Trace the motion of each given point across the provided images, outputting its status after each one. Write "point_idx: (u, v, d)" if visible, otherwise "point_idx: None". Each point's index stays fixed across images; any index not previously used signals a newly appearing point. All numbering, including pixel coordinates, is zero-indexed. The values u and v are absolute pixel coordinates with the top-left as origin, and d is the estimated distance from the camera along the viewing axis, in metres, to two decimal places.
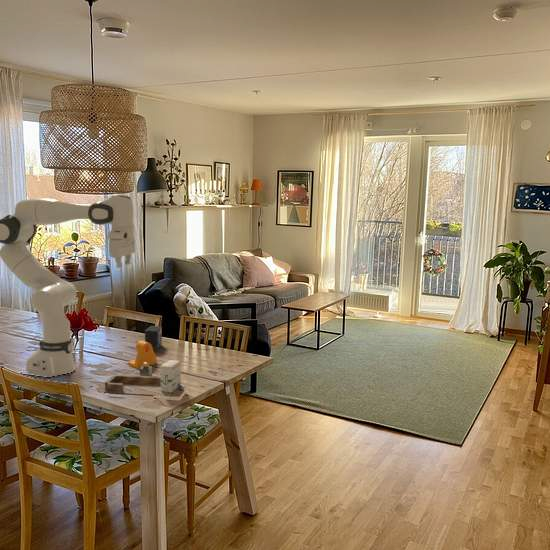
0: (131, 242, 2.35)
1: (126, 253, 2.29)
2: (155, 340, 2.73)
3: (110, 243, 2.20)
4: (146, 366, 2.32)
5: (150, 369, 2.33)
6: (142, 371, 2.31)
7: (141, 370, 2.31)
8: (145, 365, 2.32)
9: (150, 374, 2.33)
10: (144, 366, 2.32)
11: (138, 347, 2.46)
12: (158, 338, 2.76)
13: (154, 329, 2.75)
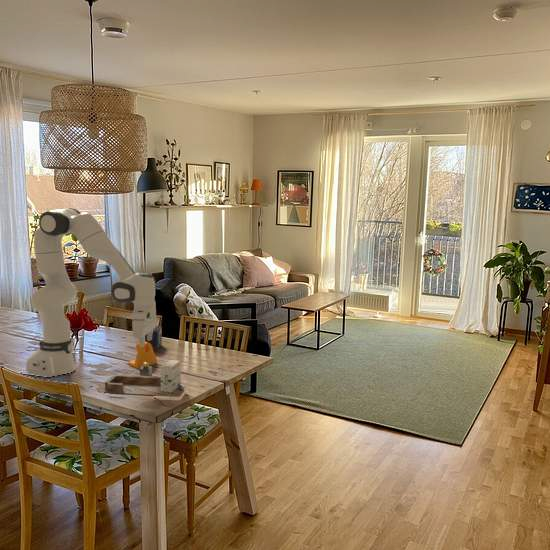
0: (153, 318, 2.35)
1: (149, 331, 2.29)
2: (155, 340, 2.73)
3: (133, 324, 2.21)
4: (146, 366, 2.32)
5: (150, 369, 2.33)
6: (142, 371, 2.31)
7: (141, 370, 2.31)
8: (145, 365, 2.32)
9: (150, 374, 2.33)
10: (144, 366, 2.32)
11: (138, 347, 2.46)
12: (158, 338, 2.76)
13: (154, 329, 2.75)
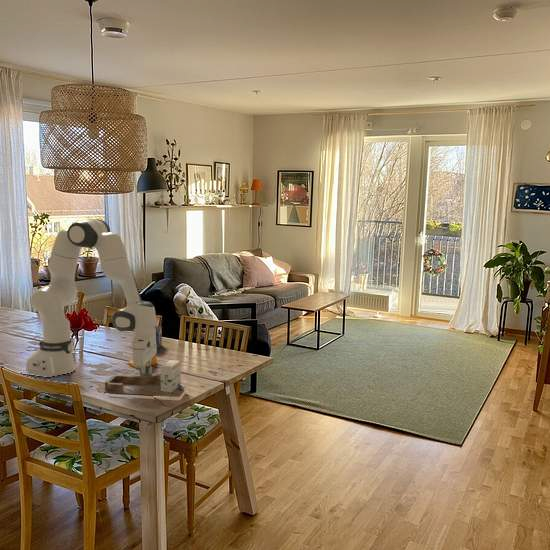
0: (153, 345, 2.37)
1: (149, 359, 2.31)
2: None
3: (133, 353, 2.22)
4: (146, 366, 2.32)
5: (150, 369, 2.33)
6: None
7: None
8: None
9: (150, 374, 2.33)
10: None
11: None
12: (158, 338, 2.76)
13: None
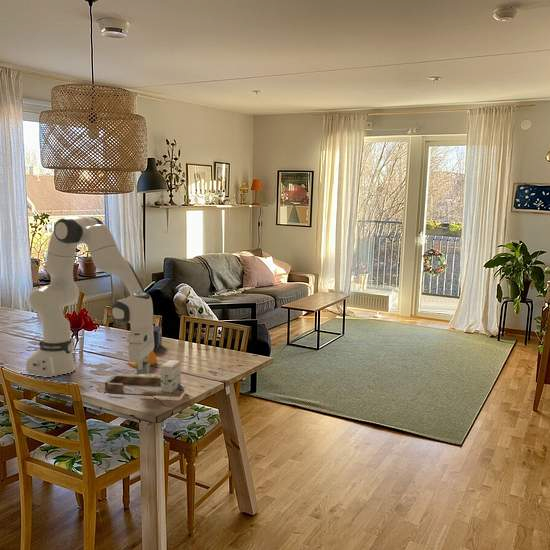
0: (150, 340, 2.23)
1: (146, 354, 2.17)
2: (155, 340, 2.73)
3: (129, 348, 2.08)
4: (143, 362, 2.18)
5: (148, 365, 2.19)
6: None
7: None
8: None
9: (148, 370, 2.19)
10: None
11: None
12: (158, 338, 2.76)
13: (154, 329, 2.75)
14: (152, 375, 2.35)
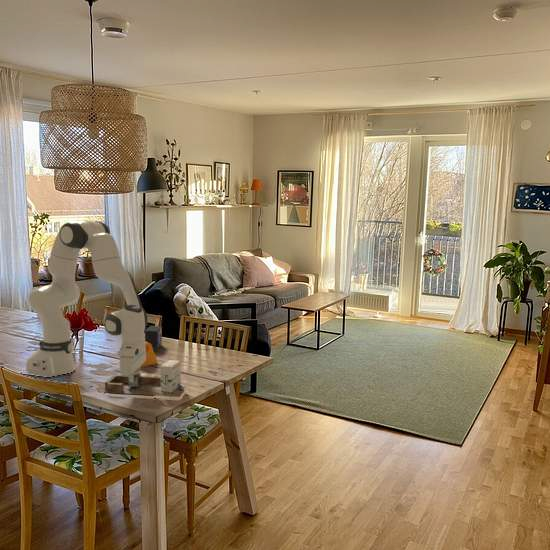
0: (142, 352, 2.25)
1: (137, 367, 2.18)
2: (155, 340, 2.73)
3: (121, 361, 2.10)
4: (135, 374, 2.19)
5: (139, 377, 2.20)
6: None
7: None
8: (134, 373, 2.19)
9: (139, 383, 2.21)
10: None
11: None
12: (158, 338, 2.76)
13: (154, 329, 2.75)
14: (152, 375, 2.35)
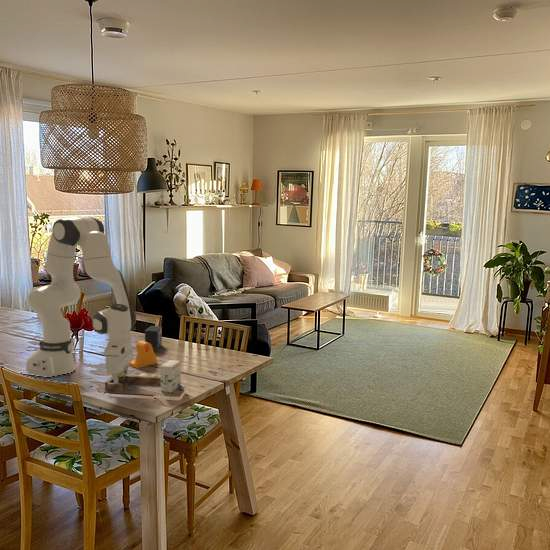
0: (129, 351, 2.25)
1: (124, 366, 2.19)
2: (155, 340, 2.73)
3: (106, 360, 2.10)
4: (121, 376, 2.20)
5: (125, 379, 2.21)
6: None
7: None
8: (120, 375, 2.19)
9: (126, 384, 2.21)
10: (119, 376, 2.20)
11: (138, 347, 2.46)
12: (158, 338, 2.76)
13: (154, 329, 2.75)
14: (152, 375, 2.35)
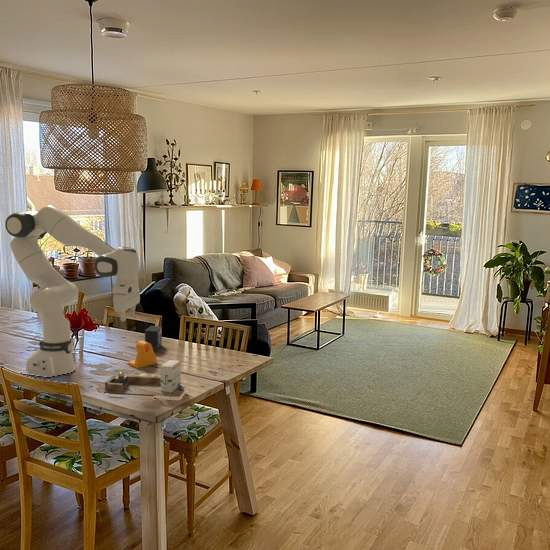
0: (136, 293, 2.35)
1: (130, 306, 2.29)
2: (155, 340, 2.73)
3: (114, 298, 2.20)
4: (121, 376, 2.20)
5: (125, 379, 2.21)
6: (117, 381, 2.19)
7: (116, 380, 2.19)
8: (120, 375, 2.19)
9: (126, 384, 2.21)
10: (119, 376, 2.20)
11: (138, 347, 2.46)
12: (158, 338, 2.76)
13: (154, 329, 2.75)
14: (152, 375, 2.35)
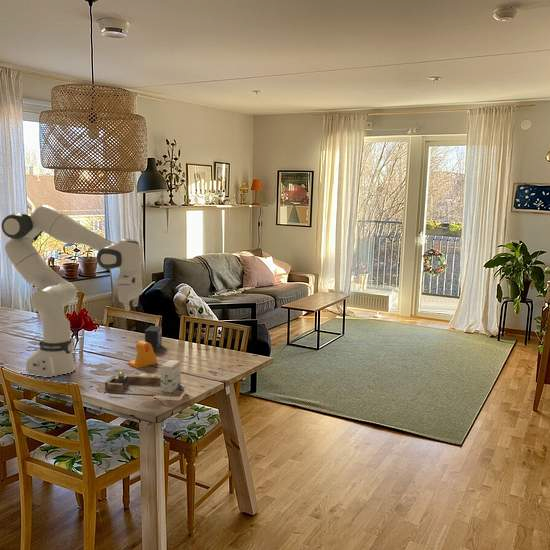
0: (138, 284, 2.40)
1: (134, 296, 2.34)
2: (155, 340, 2.73)
3: (118, 288, 2.25)
4: (121, 376, 2.20)
5: (125, 379, 2.21)
6: (117, 381, 2.19)
7: (116, 380, 2.19)
8: (120, 375, 2.19)
9: (126, 384, 2.21)
10: (119, 376, 2.20)
11: (138, 347, 2.46)
12: (158, 338, 2.76)
13: (154, 329, 2.75)
14: (152, 375, 2.35)
